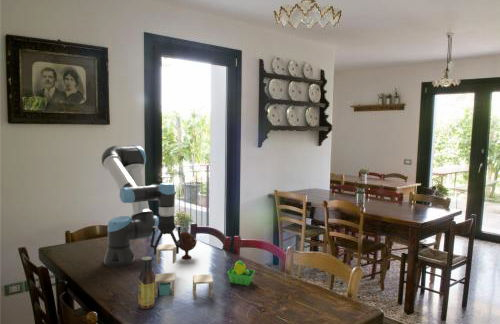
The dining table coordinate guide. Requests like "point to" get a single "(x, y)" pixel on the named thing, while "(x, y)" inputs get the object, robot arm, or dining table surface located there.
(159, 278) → the cover
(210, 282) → the cover
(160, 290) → the teal cube
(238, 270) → the fruit basket
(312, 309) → the dining table surface
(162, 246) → the cover
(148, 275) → the sauce bottle
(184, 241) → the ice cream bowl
